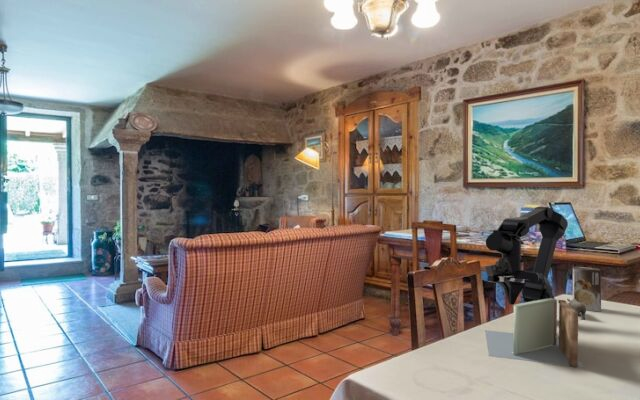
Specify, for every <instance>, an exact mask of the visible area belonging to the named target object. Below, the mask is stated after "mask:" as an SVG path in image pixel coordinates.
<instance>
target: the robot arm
mask: <svg viewBox="0 0 640 400" xmlns="http://www.w3.org/2000/svg"><path fill="white" fill-rule="evenodd" d="M535 225H538V226H539V233H540V234H541V241H540V244H539V248H538V251H537V254H536V257H535V258H536V259H535V263H534V267H533V270H531V271H530V270H522V264H524V263H525V259H522V246H523V245H524V244H525V243H524V241H523V240H522V239H521V238H524V237H525V236H527V235H528V233H530V228H533V227H534V226H535ZM568 226H569V225H568V220H567V219H566V218H565V216H563V215H562V213H558V212H557V211H555V210H553V208H551V207H550V206H549V207H548V206H537V207H534V209H532V210H530V211H528V212H525V213H524V214H522V215H520V216H517V217H516V216H515V217H508V218H505V219H503V220H502V222H501V224H500V225H499V227H498V228H497V229H493V231H492V233H491V234H489V235H488V236H487V238H486V239H485V246H486V247H487V249H488V250H490V251H493V252H496V253H499V254H501V258H498V260H497V261H495V263H493V264H489V265H484V268H485V271H486V276H487V279H486V280H487V282H488V283H496V284H498V285H500V286H501V287H502V288H503V290H504V293H505V295H506V297H507V298H506V299H507V302H508V304H509V305H511V306H513V305H515V304H516V301H517V299H518V298H519V296H520V294H521V293H522V294H521V295H522V298H523V299H522V300H523V303H526V302H531V301H536V300H542V299H547V298H553V299H556V298H555V297H554V295H553V294H552V291H551V287H552V286H551V284H550V282H549V279H548V278H549V273H550V270H551V266H552V261H553V257H554V254H555V250H556V247H557V243H558V241H559V240H560V239H561V238H562V237H563V236H564V235H565V233H566V229H568Z"/></svg>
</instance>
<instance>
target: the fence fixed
mask: <svg viewBox="0 0 640 400" xmlns="http://www.w3.org/2000/svg"><path fill="white" fill-rule="evenodd" d="M568 303H569V302H568V301H566V300H564V299H558V300H557V304H559V305H558V309H559V310H558V338H559V347H560V349H561V351H562V352H563V354H564V355H565V357H566V359H567V360H568V362H569V365H570V366H569V367H572V368H579V367H578V360H579V358H578V357H579V356H578V355H579V349H578V348H579V316H578V312H576V311H575V310H574V309H573V308H572V307H571V306H570V305H569V304H568Z"/></svg>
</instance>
